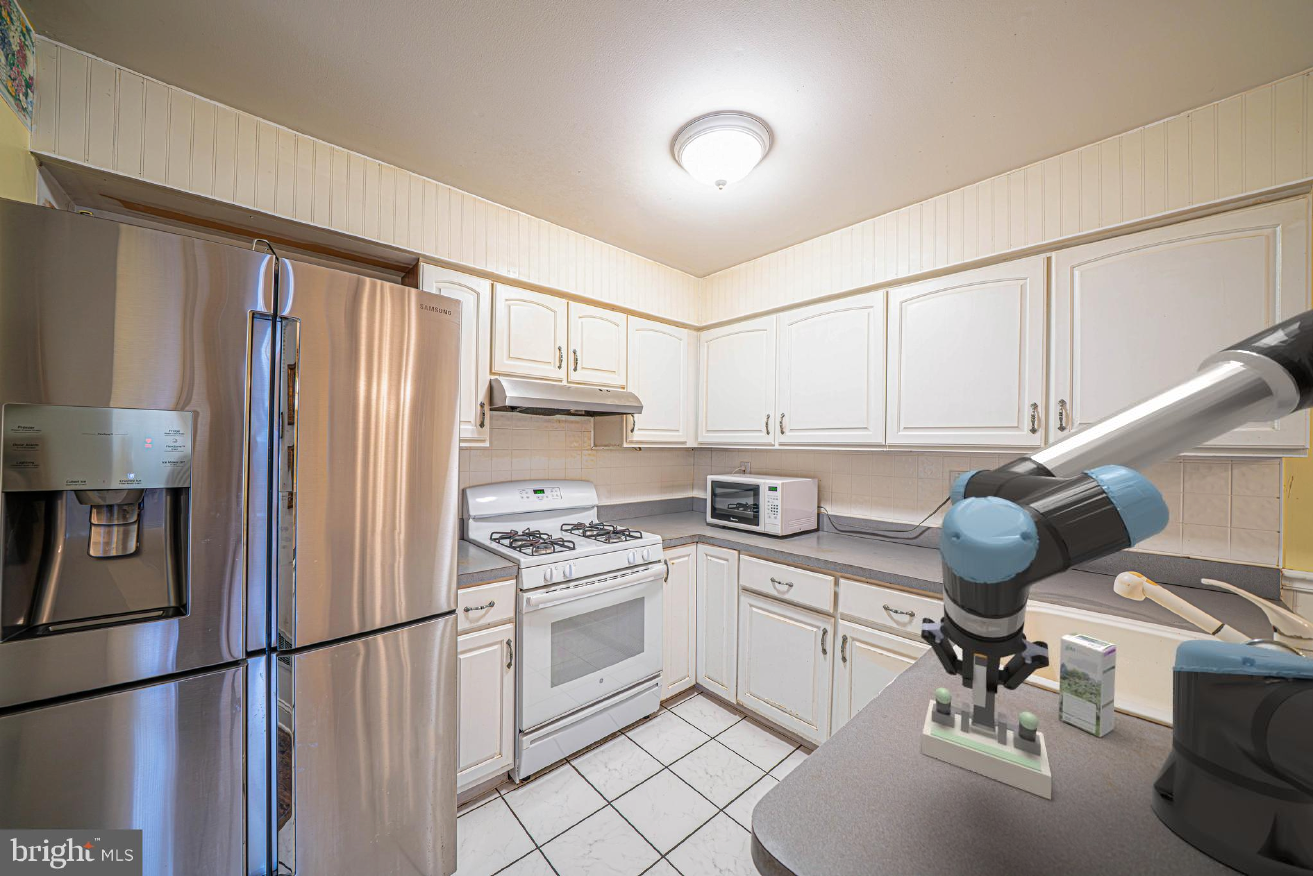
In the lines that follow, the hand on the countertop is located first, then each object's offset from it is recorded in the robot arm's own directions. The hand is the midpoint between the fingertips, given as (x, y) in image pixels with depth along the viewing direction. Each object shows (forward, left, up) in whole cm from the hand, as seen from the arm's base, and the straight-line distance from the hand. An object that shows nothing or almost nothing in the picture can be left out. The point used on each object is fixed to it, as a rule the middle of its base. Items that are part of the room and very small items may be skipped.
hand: (978, 695), depth 66 cm
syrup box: (+4, -31, -12) cm, 34 cm away
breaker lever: (+4, -6, -7) cm, 10 cm away
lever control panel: (+4, -6, -12) cm, 14 cm away
